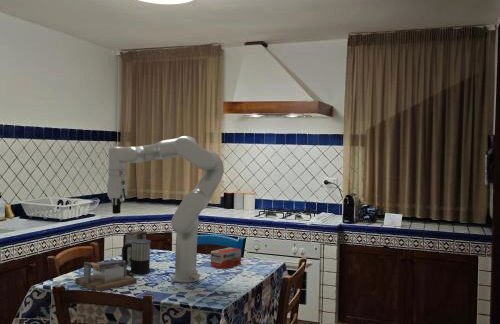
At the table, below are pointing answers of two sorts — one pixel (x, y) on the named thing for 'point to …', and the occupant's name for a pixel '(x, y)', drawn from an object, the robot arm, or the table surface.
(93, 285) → the base board
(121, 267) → the heat sink
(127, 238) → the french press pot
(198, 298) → the table surface
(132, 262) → the milk frother
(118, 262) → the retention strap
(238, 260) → the medicine box
